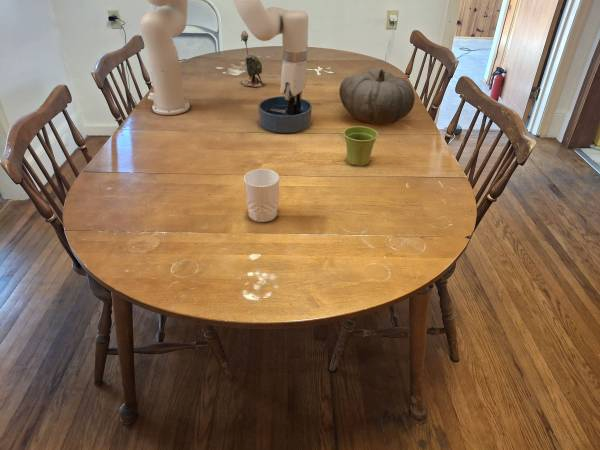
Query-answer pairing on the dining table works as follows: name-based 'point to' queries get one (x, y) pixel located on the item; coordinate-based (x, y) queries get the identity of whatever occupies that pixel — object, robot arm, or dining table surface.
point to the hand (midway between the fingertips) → (294, 113)
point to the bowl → (283, 116)
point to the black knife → (285, 110)
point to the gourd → (377, 97)
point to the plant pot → (359, 144)
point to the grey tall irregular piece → (252, 66)
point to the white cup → (262, 194)
